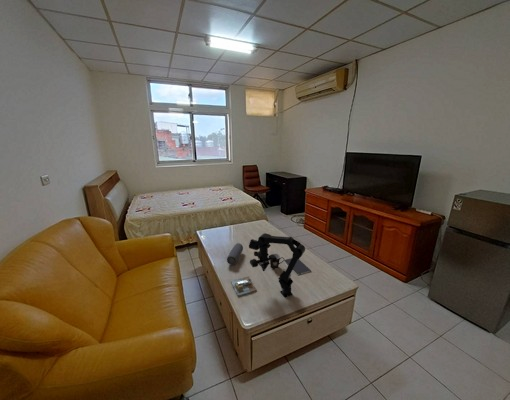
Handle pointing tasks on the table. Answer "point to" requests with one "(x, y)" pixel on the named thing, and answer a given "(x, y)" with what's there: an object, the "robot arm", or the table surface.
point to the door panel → (243, 287)
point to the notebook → (298, 267)
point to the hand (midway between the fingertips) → (263, 271)
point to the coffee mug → (275, 264)
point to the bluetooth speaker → (235, 254)
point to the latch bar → (244, 282)
